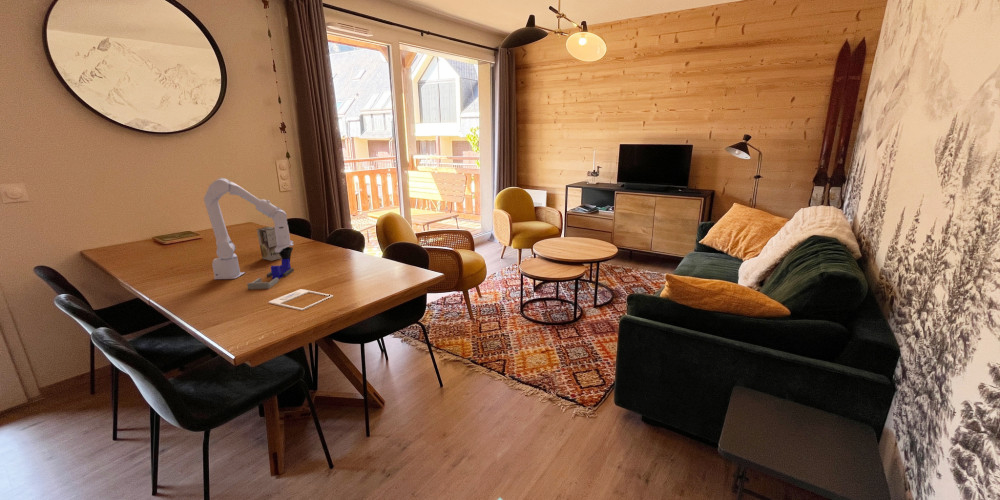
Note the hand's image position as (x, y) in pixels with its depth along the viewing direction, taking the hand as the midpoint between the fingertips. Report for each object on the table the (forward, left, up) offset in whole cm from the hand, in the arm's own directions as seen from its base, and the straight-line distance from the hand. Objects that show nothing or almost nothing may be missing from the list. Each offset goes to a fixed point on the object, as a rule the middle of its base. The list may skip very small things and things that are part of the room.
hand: (287, 263), depth 192 cm
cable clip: (+1, -9, -3) cm, 9 cm away
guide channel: (0, -8, -3) cm, 8 cm away
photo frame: (+23, -40, -3) cm, 46 cm away
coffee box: (-16, +19, -3) cm, 25 cm away
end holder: (0, -23, -3) cm, 23 cm away
